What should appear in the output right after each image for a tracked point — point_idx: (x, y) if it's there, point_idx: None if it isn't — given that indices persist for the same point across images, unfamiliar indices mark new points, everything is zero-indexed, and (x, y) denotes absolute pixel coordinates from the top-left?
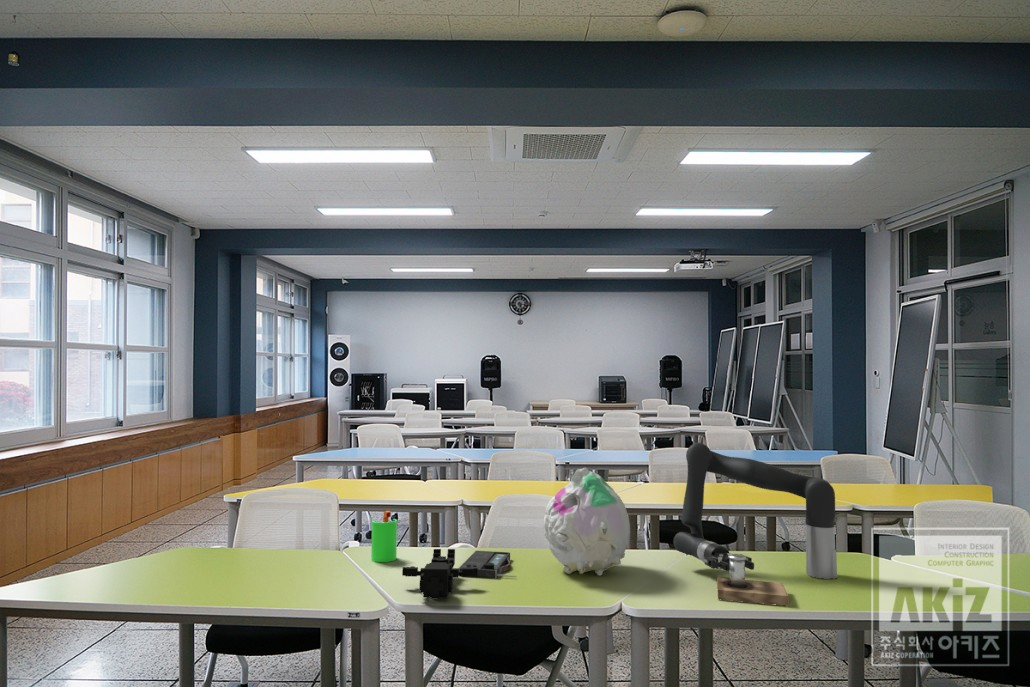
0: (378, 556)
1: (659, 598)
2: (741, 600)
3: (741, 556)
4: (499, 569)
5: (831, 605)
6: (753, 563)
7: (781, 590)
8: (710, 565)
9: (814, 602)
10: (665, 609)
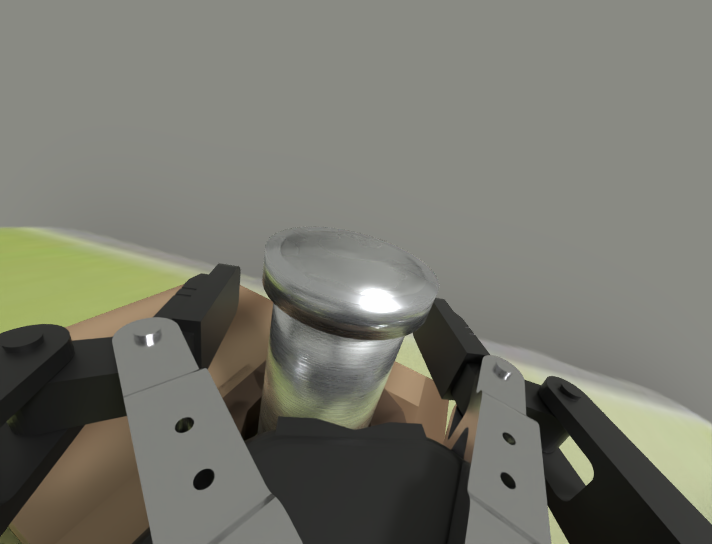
0: None
1: (705, 509)
2: None
3: (326, 240)
4: None
5: (52, 268)
6: (222, 265)
7: (160, 305)
8: (575, 479)
9: (59, 296)
10: (599, 385)
